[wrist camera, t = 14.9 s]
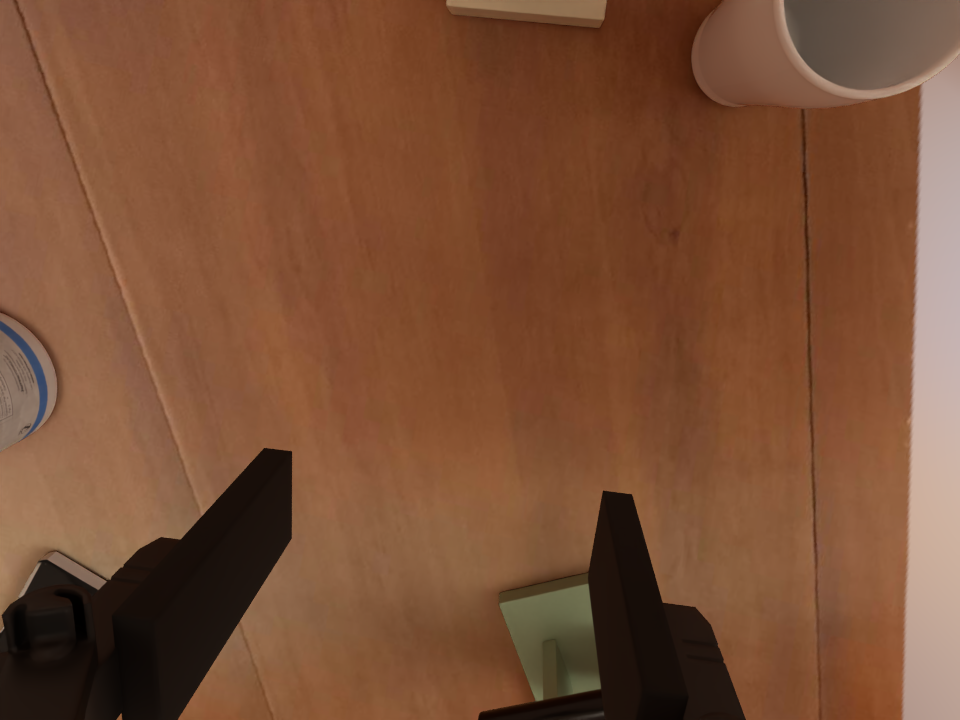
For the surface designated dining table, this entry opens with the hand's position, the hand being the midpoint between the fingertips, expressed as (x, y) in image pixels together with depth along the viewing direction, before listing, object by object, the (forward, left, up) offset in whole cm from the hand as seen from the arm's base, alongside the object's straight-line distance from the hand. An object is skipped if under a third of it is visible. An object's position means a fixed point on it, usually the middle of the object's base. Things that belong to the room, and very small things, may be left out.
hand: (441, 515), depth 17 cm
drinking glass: (-11, -15, -24) cm, 30 cm away
